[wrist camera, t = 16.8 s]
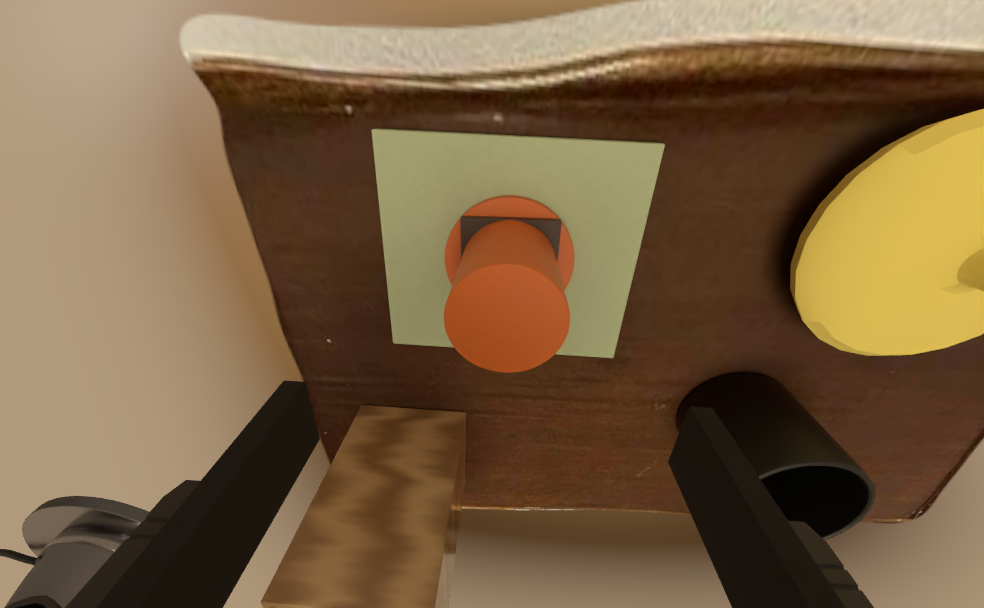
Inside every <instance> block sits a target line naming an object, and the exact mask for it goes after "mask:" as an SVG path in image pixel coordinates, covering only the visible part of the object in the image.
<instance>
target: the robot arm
mask: <svg viewBox="0 0 984 608" xmlns="http://www.w3.org/2000/svg"><path fill="white" fill-rule="evenodd" d="M319 439H320V438H319V434H318V430H317V426H316V422H315V418H314V414H313V410H312V406H311V401H310V397H309V393H308V389H307V385H306V382H297V381H283V383H282V384H281V385H280V386H279V387H278V388H277V390H276V391H275V392H274V393H273V394H272V396H271V397H270V398H269V399H268V400H267V402H266V403H265V404H264V405H263V407H262V408H261V409H260V410H259V412H257V414H256V415H255V416H254V417H253V419H252V420H251V421H250V422H249V423H248V425H247V426H246V427H245V428H244V430H243V431H242V432H241V433H240V434H239V436H238V437H237V438H236V439H235V440H234V442H233V443H232V444H231V445H230V446H229V447H228V449H227V450H226V451H225V452H224V454H223V455H222V456H221V457H220V458H219V460H218V461H217V462H216V463H215V464H214V466H213V467H212V468H211V469H210V470H209V472H208V473H207V474H206V476H204V478H203V479H202V480H201V481H193V480H186V481H184V482H183V483H181V484H180V485H179V486H178V487H176V488H175V489H173V490H172V491H171V492H169V493H168V494H167V495H165V496H164V497H163V498H162V499H161V500H160V501H159V502H158V504H157V505H156V506H155V507H154V508H153V509H152V510H151V511H150V512H149V514H148V515H147V516H146V518H145V520H144V521H141V523H140V524H139V525H138V526H137V527H136V528H135V529H134V530H133V532H132V533H131V535H130V536H128V535H126V534H122V533H119V532H116V531H112V530H107V529H102V528H94V527H75V528H70V529H66V530H64V531H62V532H61V533H59V534H58V535H57V536H56V537H55V538H54V539H53V540H52V541H51V542H50V543H49V544H48V545H47V546H46V547H44V548H43V549H42V551H41V552H40V554H39V556H38V557H37V558H35V557H31V556H27V555H24V554H21V553H18V552H15V551H12V550H7V549H0V556H4V557H8V558H12V559H14V560H17V561H21V562H24V563H28V564H32V565H35V566H34V567H33V568H32V570H31V571H30V572H29V573H28V575H27V576H26V577H25V579H24V580H23V581H22V583H21V584H20V586H19V587H18V588H17V590H16V591H15V593H14V594H13V596H12V597H11V599H10V601H9V602H8V603H7V605H6V606H5V608H223V606H224V604H225V603H226V601H227V599H228V597H229V596H230V594H231V592H232V591H233V588H234V587H235V585H236V584H237V582H238V580H239V578H240V577H241V575H242V573H243V571H244V570H245V568H246V566H247V564H248V563H249V561H250V559H251V557H252V556H253V554H254V552H255V551H256V549H257V547H258V545H259V544H260V542H261V540H262V538H263V537H264V535H265V533H266V531H267V530H268V528H269V526H270V524H271V523H272V521H273V519H274V517H275V516H276V514H277V512H278V511H279V509H280V507H281V505H282V504H283V502H284V500H285V498H286V497H287V495H288V493H289V491H290V490H291V488H292V486H293V484H294V483H295V481H296V479H297V477H298V476H299V474H300V472H301V471H302V469H303V467H304V465H305V464H306V462H307V460H308V458H309V457H310V455H311V453H312V451H313V450H314V448H315V446H316V445H317V442H318V441H319ZM668 463H669V465H670V468H671V470H672V472H673V475H674V477H675V479H676V481H677V484H678V486H679V488H680V490H681V493H682V495H683V497H684V499H685V502H686V504H687V506H688V509H689V511H690V513H691V515H692V518H693V520H694V522H695V524H696V527H697V529H698V531H699V533H700V535H701V538H702V540H703V543H704V545H705V547H706V549H707V551H708V554H709V556H710V558H711V561H712V563H713V565H714V567H715V570H716V572H717V574H718V577H719V579H720V581H721V583H722V586H723V588H724V590H725V592H726V595H727V597H728V599H729V601H730V604H731V606H732V608H874V607H873V606H872V604H871V603H870V602H869V600H868V599H867V597H866V596H865V595H864V593H863V592H862V591H860V590H859V589H858V585H857V584H856V582H855V581H854V579H853V578H852V577H851V575H850V574H849V573H848V571H846V570H844V567H843V564H842V563H841V561H840V560H839V559H838V557H837V556H836V555H835V553H834V552H833V550H832V549H831V548H830V546H829V545H828V544H827V543H826V541H825V540H824V539H822V538H821V537H820V536H819V535H818V534H817V533H816V532H815V531H814V530H813V529H812V528H811V527H809V526H808V525H807V524H806V523H805V522H800V521H788V520H787V519H786V517H785V516H784V514H783V513H782V511H781V510H780V508H779V507H778V505H777V504H776V502H775V501H774V499H773V498H772V496H771V495H770V493H769V492H768V490H767V489H766V487H765V486H764V484H763V483H762V481H761V480H760V478H759V477H758V475H757V474H756V472H755V471H754V469H753V468H752V466H751V465H750V463H749V462H748V460H747V459H746V457H745V456H744V454H743V453H742V451H741V450H740V448H739V447H738V445H737V444H736V442H735V441H734V439H733V438H732V436H731V435H730V433H729V432H728V430H727V429H726V427H725V426H724V424H723V423H722V421H721V420H720V418H719V417H718V415H717V414H716V412H715V411H714V409H713V408H706V407H691V406H690V407H689V409H688V412H687V414H686V417H685V420H684V422H683V425H682V427H681V430H680V433H679V435H678V438H677V440H676V443H675V445H674V448H673V451H672V453H671V456H670V458H669V461H668Z"/></svg>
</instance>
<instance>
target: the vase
mask: <svg viewBox="0 0 984 608" xmlns="http://www.w3.org/2000/svg"><path fill="white" fill-rule="evenodd" d="M790 290H791V293H792V296H793V299H794V302H795V305H796V307H797V310H798V312H799V314H800V316H801V318H802V321H803V322H804V323H805V324H806V325H807V326H808V328H809V329H810V330H811V331H812V332H813V333H814V334H815V335H816V337H817V338H818V339H820V340H822V341H824V342H826V343H828V344H830V345H832V346H833V347H835V348H837V349H839V350H842V351H847V352H852V353H857V354H862V355H867V356H872V355H912V354H917V353H922V352H927V351H932V350H937V349H942V348H946V347H949V346H952V345H955V344H957V343H960V342H963V341H966V340H969V339H971V338H974V337H977V336H980V335H982V334H984V109H981V110H978V111H974V112H970V113H967V114H963V115H960V116H957V117H953V118H950V119H947V120H944V121H940V122H937V123H934V124H930V125H927V126H924V127H921V128H919V129H918V130H916V131H914V132H912V133H910V134H908V135H906V136H904V137H902V138H900V139H898V140H896V141H894V142H892V143H891V144H889V145H887V146H885V147H883V148H881V149H880V150H879V151H877V152H876V153H875V154H873V155H872V156H871V157H869V158H868V159H867V160H866V161H864V162H863V163H862V164H860V165H859V166H858V167H856V168H855V169H854V170H852V171H851V172H850V173H848V174H847V175H846V176H845V177H844V178H843V179H842V180H841V181H840V183H839V184H838V185H837V186H836V187H835V188H834V189H833V190H832V191H831V192H830V193H829V194H828V196H827V197H826V198H825V199H824V200H823V201H822V202H821V203H820V204H819V206H818V207H817V209H816V210H815V212H814V214H813V215H812V217H811V218H810V220H809V222H808V223H807V225H806V227H805V228H804V230H803V231H802V233H801V235H800V237H799V240H798V243H797V246H796V249H795V252H794V255H793V258H792V261H791V276H790Z"/></svg>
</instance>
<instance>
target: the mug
mask: <svg viewBox="0 0 984 608" xmlns="http://www.w3.org/2000/svg"><path fill="white" fill-rule="evenodd" d="M690 406H691V407H706V408H713V409H714V411H715V412H716V414H717V415H718V417H719V418H720V420H721V421H722V423H723V424H724V426H725V427H726V429H727V430H728V432H729V433H730V435H731V436H732V438H733V439H734V441H735V442H736V444H737V445H738V447H739V448H740V450H741V451H742V453H743V454H744V456H745V457H746V459H747V460H748V462H749V463H750V465H751V466H752V468H753V469H754V471H755V472H756V474H757V475H758V477H759V478H760V480H761V481H762V483H763V484H764V486H765V487H766V489H767V490H768V492H769V493H770V495H771V496H772V498H773V499H774V501H775V502H776V504H777V505H778V507H779V508H780V510H781V511H782V513H783V514H784V516H785V517H786V519H787V520H788V521H800V522H805V523H806V524H807V525H808V526H809V527H811V528H812V529H813V530H814V531H815V532H816V533H817V534H818V535H819V536H820V537H821V538H822V539H824V540H826V539H829V538H832V537H834V536H836V535H838V534H841V533H843V532H844V531H846V530H848V529H849V528H851V527H853V526H854V525H855V524H857V523H858V522H859V521H860V520H861V519H862V518H863V517H865V515H866V514H867V513H868V512H869V510H870V509H871V507H872V505H873V503H874V500H875V496H876V493H875V487H874V484H873V482H872V480H871V478H870V477H869V476H868V475H867V474H866V472H865V471H864V470H863V469H862V468H861V467H860V466H859V465H858V464H857V463H856V462H855V461H854V460H853V459H852V458H851V457H850V456H849V455H848V454H847V452H846V451H845V450H844V449H843V448H842V447H841V446H840V445H839V444H838V443H837V442H836V441H835V440H834V439H833V438H832V437H831V436H830V435H829V434H828V432H827V431H826V430H825V429H824V428H823V427H822V426H821V425H820V424H819V423H818V422H817V421H816V420H815V419H814V418H813V417H812V416H811V415H810V414H809V412H808V411H807V410H806V409H805V408H804V407H803V406H802V405H801V404H800V403H799V402H798V401H797V400H796V399H795V398H794V397H793V396H792V395H791V394H790V392H789V391H788V390H787V389H786V388H785V387H784V386H783V385H781V384H780V383H779V382H777V381H775V380H773V379H771V378H768V377H766V376H763V375H758V374H752V373H739V374H731V375H726V376H722V377H719V378H716V379H714V380H711V381H709V382H707V383H705V384H703V385H702V386H700V387H699V388H697V389H696V390H695V391H693V392H692V393H691V394H690V395H689V396H688V397H687V398H686V400H685V401H684V402H683V404H682V406H681V407H680V410H679V413H678V418H677V427H678V431H679V433H680V430H681V427H682V425H683V422H684V420H685V417H686V414H687V412H688V409H689V407H690Z"/></svg>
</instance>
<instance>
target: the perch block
mask: <svg viewBox="0 0 984 608" xmlns="http://www.w3.org/2000/svg"><path fill="white" fill-rule="evenodd" d="M465 454H466V412H453V411H439V410H425V409H412V408H398V407H384V406H370V405H361V407H360V409H359V411H358V413H357V415H356V417H355V419H354V421H353V422H352V424H351V426H350V428H349V430H348V432H347V434H346V436H345V438H344V440H343V442H342V444H341V446H340V448H339V450H338V452H337V454H336V456H335V458H334V460H333V462H332V464H331V465H330V467H329V470H328V471H327V473H326V475H325V477H324V479H323V481H322V483H321V485H320V487H319V489H318V491H317V493H316V495H315V497H314V499H313V501H312V503H311V505H310V507H309V508H308V510H307V512H306V515H305V516H304V518H303V520H302V522H301V524H300V526H299V528H298V530H297V532H296V534H295V536H294V538H293V540H292V542H291V544H290V546H289V548H288V550H287V551H286V553H285V556H284V558H283V559H282V561H281V563H280V565H279V567H278V569H277V571H276V573H275V575H274V577H273V579H272V581H271V583H270V585H269V587H268V589H267V591H266V593H265V594H264V596H263V599H262V600H261V604H262V606H263V608H448V605H449V599H450V590H451V583H452V576H453V569H454V561H455V554H456V546H457V538H458V531H459V524H460V516H461V509H462V501H463V494H464V487H465Z"/></svg>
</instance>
